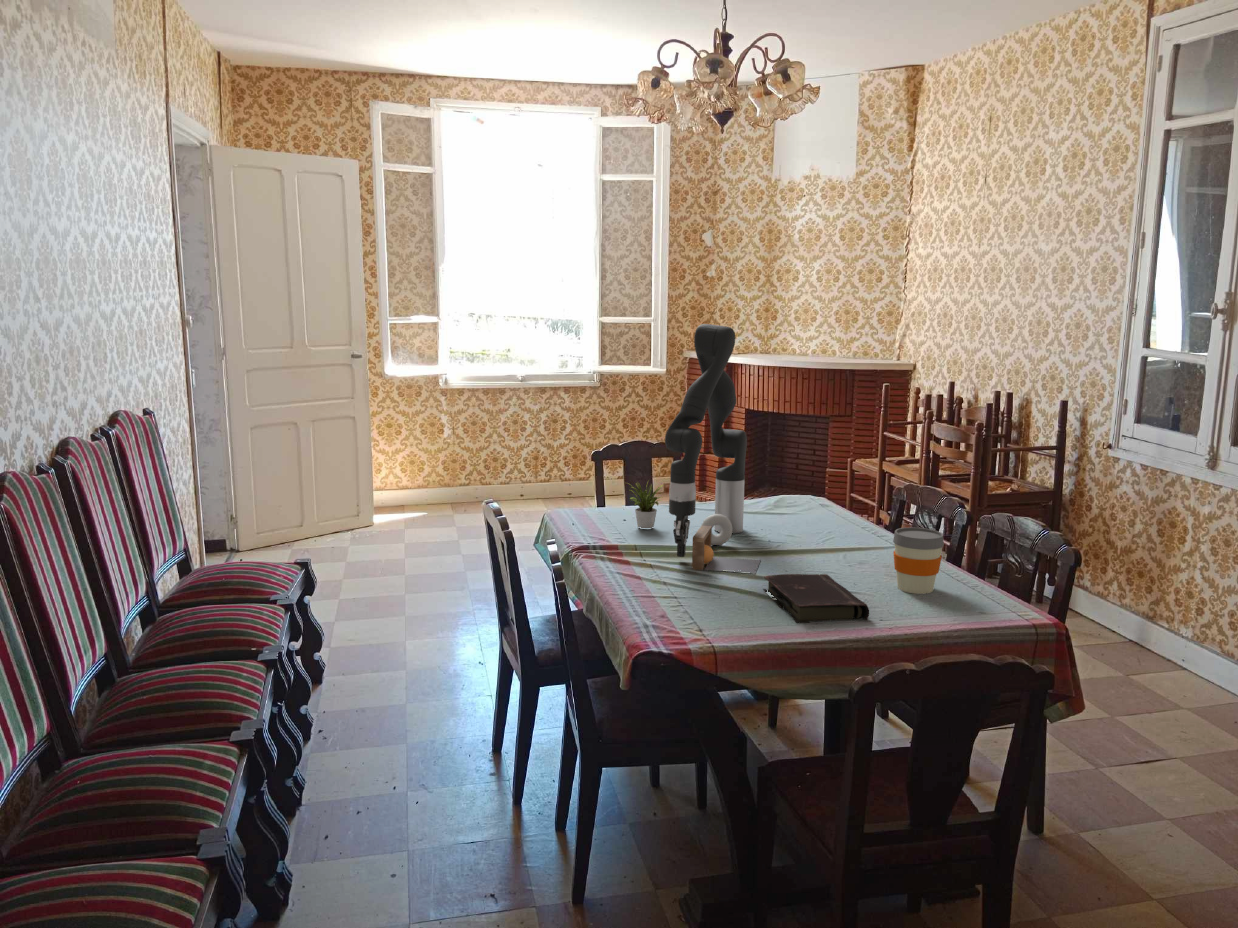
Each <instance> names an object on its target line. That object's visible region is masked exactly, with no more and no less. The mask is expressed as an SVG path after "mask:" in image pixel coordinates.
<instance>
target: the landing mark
mask: <svg viewBox="0 0 1238 928" xmlns="http://www.w3.org/2000/svg"><path fill="white" fill-rule="evenodd" d="M761 561H762V560H761V559H751V558H737V557H725V556H724V557H723V556H715V555H714V556H713V559H712V561H711V562H709V563H707V564H706V567H704V571H708V570H714V571H713V572H721V571H723V570H734V571H735V572H750V573H755V574H756V573H757V571H758V569H759V565H760V563H761ZM738 570H739V571H738ZM740 570H741V571H740ZM734 571H729V572H727V571H726V572H725V573H733V572H734Z"/></svg>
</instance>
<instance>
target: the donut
mask: <svg viewBox="0 0 1238 928" xmlns="http://www.w3.org/2000/svg"><path fill="white" fill-rule="evenodd" d="M715 525H720V526H721V529H722V530H721V532H719V533H718V534H714V533H712V538H711V546H713V545H719V546H722V545H724V544H727V542H728V541H729V540H730V538H731V536H732V535H733V534H732V530H733V529H732V524H731V522H730V520H729V519H728V518H727V517H726V516H724V515H721V514H715V513H714V514H710V515H709V516H707V517H706V518H704V520H703V521H702V523H701V526H712V528H713V527H715ZM701 526H700V527H701Z"/></svg>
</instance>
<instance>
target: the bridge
mask: <svg viewBox="0 0 1238 928" xmlns="http://www.w3.org/2000/svg"><path fill="white" fill-rule="evenodd" d="M712 534H713V527H712V526H700V527H699V528H698V529H697V531H696V533H695V534H694V535H693V536H692V549H691V550H692V551H691V552H692V554H691V555H692V557H691V558H692V559H691V570H693V571H694V570H696V571H703V570H705V564H704V545H708V546H709V547H711V548H712V545H711V538H712Z"/></svg>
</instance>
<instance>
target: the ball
mask: <svg viewBox="0 0 1238 928" xmlns="http://www.w3.org/2000/svg"><path fill="white" fill-rule="evenodd" d="M713 556H714V557H715V555H714V550H713V549H712V546H711V547H709V546H708V545H704V565H708V563H709V562H711V561H712V559H713Z"/></svg>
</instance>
